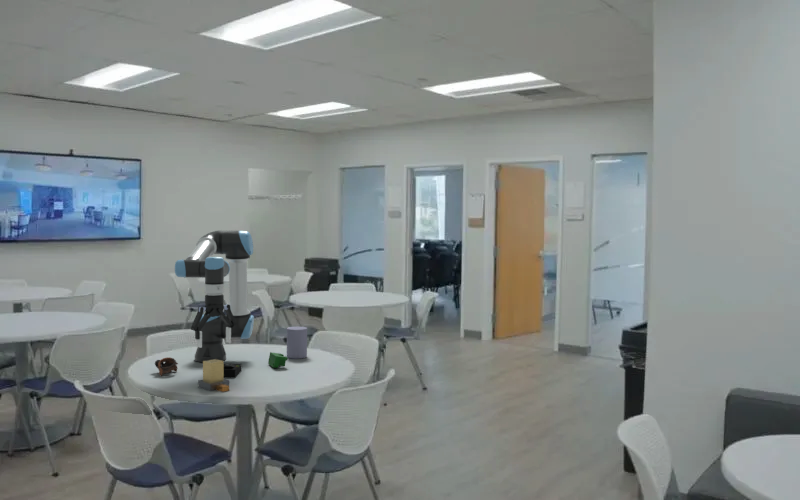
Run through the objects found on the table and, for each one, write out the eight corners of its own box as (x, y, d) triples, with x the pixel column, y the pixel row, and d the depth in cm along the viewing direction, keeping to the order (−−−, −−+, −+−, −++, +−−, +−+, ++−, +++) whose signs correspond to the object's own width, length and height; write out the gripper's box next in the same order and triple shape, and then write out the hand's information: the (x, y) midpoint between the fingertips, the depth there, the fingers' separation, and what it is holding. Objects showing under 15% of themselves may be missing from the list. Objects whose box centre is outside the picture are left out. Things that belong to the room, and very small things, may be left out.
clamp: (283, 375, 304) (288, 359, 302) (271, 374, 302) (276, 358, 299) (279, 361, 315) (284, 346, 312) (267, 360, 312) (272, 344, 309)
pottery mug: (183, 372, 292) (181, 358, 287) (170, 385, 284) (168, 371, 280) (161, 364, 295) (159, 351, 291) (148, 377, 287) (145, 364, 283)
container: (310, 357, 328) (310, 328, 327) (291, 359, 322) (292, 330, 321) (301, 354, 336) (301, 326, 336) (283, 356, 330) (283, 327, 330)
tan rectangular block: (203, 380, 266) (202, 361, 266) (215, 377, 271) (215, 359, 270) (210, 382, 262) (210, 363, 262) (223, 380, 267) (223, 361, 266)
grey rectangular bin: (198, 387, 266) (198, 371, 266) (217, 383, 273) (217, 368, 272) (216, 393, 257) (216, 377, 257) (235, 389, 264) (235, 373, 263)
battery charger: (220, 371, 296) (220, 363, 295) (241, 372, 296) (241, 363, 296) (213, 378, 283) (213, 369, 282) (235, 378, 283) (235, 369, 283)
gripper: (191, 297, 253) (191, 350, 254) (245, 292, 271) (244, 342, 272) (181, 295, 258) (181, 347, 259) (235, 291, 276) (234, 339, 277)
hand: (214, 344), depth 266 cm, fingers open, 13 cm apart
